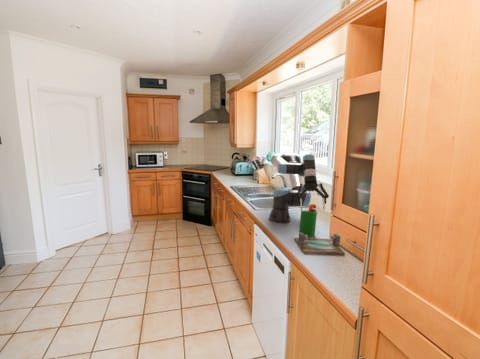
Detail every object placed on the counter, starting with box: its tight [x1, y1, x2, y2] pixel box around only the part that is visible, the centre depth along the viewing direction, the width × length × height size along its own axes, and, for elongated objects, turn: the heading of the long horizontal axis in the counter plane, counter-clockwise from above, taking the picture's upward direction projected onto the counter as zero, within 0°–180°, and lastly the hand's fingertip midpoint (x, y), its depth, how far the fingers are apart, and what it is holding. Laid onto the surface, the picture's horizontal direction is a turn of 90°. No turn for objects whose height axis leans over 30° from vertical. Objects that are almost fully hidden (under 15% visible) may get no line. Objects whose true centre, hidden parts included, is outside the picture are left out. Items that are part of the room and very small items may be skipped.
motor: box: [298, 203, 318, 238], centre depth 162 cm, size 10×9×20 cm
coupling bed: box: [294, 232, 346, 256], centre depth 144 cm, size 18×22×8 cm
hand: (312, 209), depth 159 cm, fingers open, 13 cm apart
